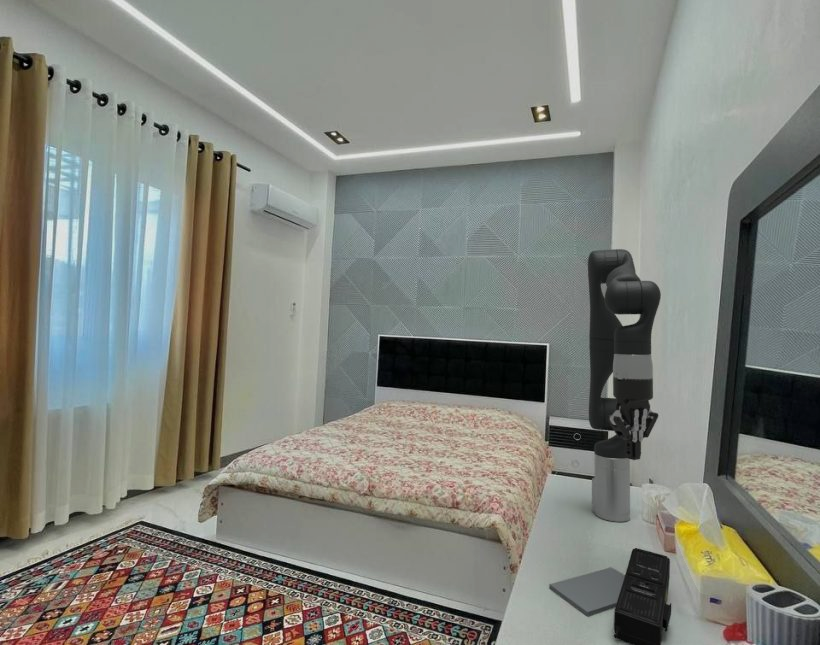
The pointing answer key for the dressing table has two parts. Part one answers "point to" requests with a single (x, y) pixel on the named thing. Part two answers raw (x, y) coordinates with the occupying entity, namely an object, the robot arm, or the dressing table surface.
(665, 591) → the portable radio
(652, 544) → the dressing table surface
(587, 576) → the charcoal pad
